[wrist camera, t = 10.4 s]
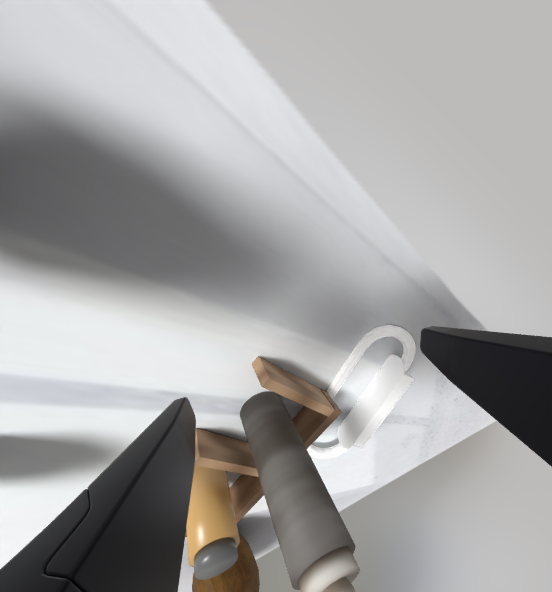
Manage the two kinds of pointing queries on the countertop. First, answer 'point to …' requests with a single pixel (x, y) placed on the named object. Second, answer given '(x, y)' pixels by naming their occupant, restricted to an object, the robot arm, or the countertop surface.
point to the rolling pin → (371, 392)
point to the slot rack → (237, 453)
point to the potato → (233, 574)
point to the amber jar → (211, 524)
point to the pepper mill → (298, 500)
